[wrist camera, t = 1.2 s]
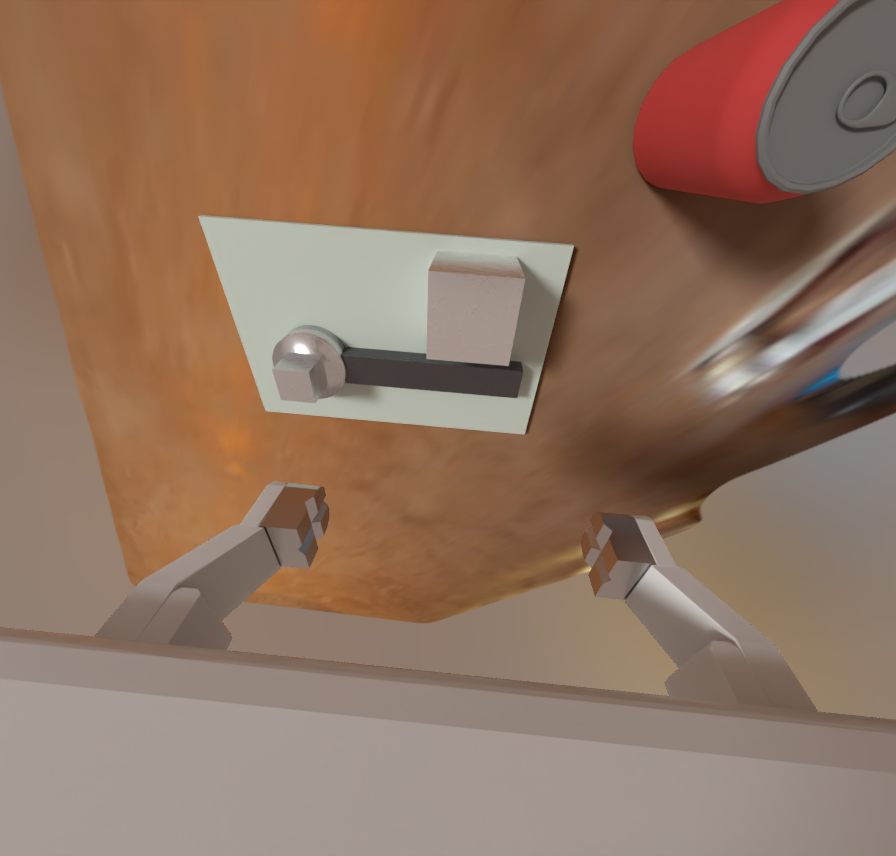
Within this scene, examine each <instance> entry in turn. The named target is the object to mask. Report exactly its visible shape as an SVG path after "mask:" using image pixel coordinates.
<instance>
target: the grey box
mask: <svg viewBox="0 0 896 856" xmlns="http://www.w3.org/2000/svg"><path fill="white" fill-rule="evenodd" d="M524 283H525V276H524V274H523V271H522V269H521V266H520V263H519V261H518V258H517V257H516V256H504V255H491V254H479V253H466V252H454V251H441V250H437V252H436V255H435V257H434V259H433V261H432V263H431V266H430V268H429V270H428V302H427V353H426V359H433V360H445V361H456V362H468V363H479V364H491V365H503V366H509V362H510V357H511V351H512V346H513V341H514V336H515V331H516V325H517V320H518V315H519V310H520V304H521V299H522V294H523V289H524Z"/></svg>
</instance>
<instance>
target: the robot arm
mask: <svg viewBox="0 0 896 856" xmlns="http://www.w3.org/2000/svg"><path fill="white" fill-rule="evenodd" d="M325 496H326V494H325V490H324V487H319V486H311V485H303V484H294V483H284V482H275V481H272V482H271V483H269V484H268V485H267V486H266V488H265V489H264V490H263V492H262V493H261V495H260V496H259V498H258V499H257V501H256V502H255V503H254V505H253V506H252V508H251V509H250V511H249V512H248V513H247V515H246V516H245V518H244V519H243V521H242V522H241V524H240V525H233V526H231V527H230V528H228V529H226V530H225V531H223V532H221V533H220V534H218V535H216V536H215V537H213V538H211V539H210V540H208V541H206V542H205V543H203V544H201V545H200V546H198V547H197V548H195V549H193V550H192V551H190V552H188V553H187V554H185V555H183V556H182V557H180V558H178V559H177V560H175V561H173V562H172V563H170V564H168V565H167V566H165V567H163V568H162V569H160V570H158V571H157V572H155V573H153V574H152V575H150V576H148V577H147V578H145V579H143V580H142V581H140V582H139V584H138V585H137V586H136V587H135V588H134V590H133V591H132V592H131V594H129V596H128V597H127V598H126V599H125V600H124V602H123V603H122V604H121V605H120V606H119V607H118V609H117V610H116V611H115V612H114V614H113V615H112V616H111V617H110V618H109V619H108V621H107V622H106V623H105V624H104V625H103V626H102V628H101V629H100V630H99V631H98V632H97V633H96V635H95V636H94V637H92V636H83V635H73V634H64V633H54V632H43V631H34V630H24V629H15V628H4V627H0V856H896V720H894V719H885V718H875V717H865V716H856V715H846V714H837V713H826V712H818V711H817V709H816V707H815V706H814V704H813V703H812V701H811V700H810V698H809V697H808V695H807V693H806V692H805V691H804V689H803V687H802V686H801V684H800V683H799V681H798V679H797V678H796V676H795V675H794V673H793V672H792V670H791V669H790V667H789V665H788V664H787V662H786V661H785V659H784V658H783V656H782V655H781V653H780V652H779V650H778V648H777V647H776V645H775V644H773V643H772V642H771V641H770V640H768V639H767V638H766V637H765V636H764V635H763V634H761V633H760V632H759V631H758V630H757V629H755V628H754V627H753V626H752V625H751V624H749V623H748V622H747V621H746V620H745V619H743V618H742V617H741V616H740V615H738V614H737V613H736V612H735V611H734V610H732V609H731V608H730V607H729V606H728V605H727V604H725V603H724V602H723V601H722V600H721V599H719V598H718V597H717V596H716V595H714V594H713V593H712V592H711V591H710V590H708V589H707V588H706V587H705V586H704V585H702V584H701V583H700V582H699V581H698V580H696V579H695V578H694V577H693V576H692V575H691V574H689V573H688V572H687V571H686V570H685V569H683V568H680V567H677V566H676V564H675V562H674V560H673V558H672V556H671V555H670V553H669V551H668V549H667V547H666V545H665V543H664V541H663V539H662V538H661V536H660V534H659V532H658V530H657V528H656V526H655V524H654V522H653V521H652V519H651V518H649V517H648V516H637V515H628V514H616V513H603V512H595V513H594V514H593V515H592V517H591V519H590V521H591V524H592V526H590V527H589V528H587V529H585V532H584V534H583V536H582V553H583V557H584V560H585V561H586V562H587V564H588V565H589V566H590V567H591V568H592V569H591V571H590V573H589V578H590V581H591V585H592V588H593V591H594V595H595V596H596V597H603V598H611V599H619V600H625V603H626V604H627V605H628V607H629V608H630V609H631V610H632V612H633V613H634V614H635V615H636V616H637V618H638V619H639V620H640V621H641V623H642V624H643V625H644V626H645V627H646V629H647V630H648V631H649V632H650V633H651V635H652V636H653V637H654V638H655V640H656V641H657V642H658V643H659V644H660V646H661V647H662V648H663V649H664V651H665V652H666V653H667V654H668V656H669V657H670V658H671V659H672V660H673V662H674V663H675V664H676V665H677V667H678V668H679V669H678V670H676V671H675V672H674V673H673V674H672V675H670V676H669V677H668V678H667V679H666V681H665V686H666V689H667V691H668V694H669V696H663V695H653V694H644V693H634V692H625V691H615V690H605V689H596V688H585V687H576V686H566V685H557V684H546V683H537V682H528V681H518V680H509V679H499V678H489V677H480V676H470V675H461V674H451V673H441V672H432V671H422V670H412V669H403V668H393V667H383V666H374V665H363V664H354V663H345V662H334V661H325V660H315V659H306V658H296V657H286V656H276V655H267V654H257V653H248V652H237V651H228V650H227V648H228V646H229V644H230V642H231V640H232V636H231V633H230V632H229V630H228V629H227V628H226V626H225V625H224V623H223V622H222V620H223V619H224V618H225V617H227V615H229V614H230V613H231V612H232V611H233V610H234V609H235V608H237V607H238V606H239V605H240V604H241V603H242V602H243V601H244V600H246V599H247V598H248V597H249V596H250V595H251V594H252V593H253V592H254V591H256V590H257V589H258V588H259V587H260V586H261V585H262V584H263V583H265V582H266V581H267V580H268V579H269V578H270V577H271V576H272V575H273V574H275V573H276V572H277V571H278V570H279V569H280V566H282V567H296V568H310V566H311V564H312V561H313V559H314V557H315V554H316V552H317V550H318V546H317V542H316V541H317V540H318V539H320V538H321V537H322V536H324V534H325V531H326V529H327V526H328V521H329V507H328V505H327V504H326V503H325V502H324V501H323V500H324V498H325Z"/></svg>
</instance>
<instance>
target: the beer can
mask: <svg viewBox="0 0 896 856" xmlns="http://www.w3.org/2000/svg"><path fill="white" fill-rule="evenodd" d="M895 149H896V0H783V1H781V2H779V3H777V4H775V5H773V6H771V7H769V8H768V9H766V10H764V11H762V12H760V13H758V14H756V15H754V16H752V17H750V18H748V19H746V20H744V21H742V22H741V23H739V24H737V25H735V26H733V27H731V28H729V29H727V30H725V31H723V32H721V33H719V34H717V35H715V36H714V37H712V38H710V39H708V40H706V41H704V42H702V43H700V44H698V45H696V46H694V47H693V48H692V49H690V50H689V51H687V52H686V53H684V54H683V55H681V56H680V57H678V58H677V59H675V60H674V61H673V62H672V63H671V64H670V65H669V66H668V68H667V69H666V70H665V71H664V72H663V73H662V74H661V75H660V76H659V77H658V78H657V80H656V81H655V83H654V84H653V86H652V88H651V89H650V91H649V93H648V95H647V96H646V98H645V100H644V101H643V103H642V106H641V109H640V112H639V115H638V118H637V121H636V124H635V128H634V139H633V152H634V157H635V163H636V167H637V168H638V170H639V171H640V173H641V174H642V176H643V178H644V179H645V180H646V181H648V182H649V183H651V184H653V185H654V186H656V187H658V188H664V189H670V190H676V191H682V192H688V193H695V194H701V195H707V196H713V197H719V198H725V199H731V200H737V201H744V202H751V203H759V204H765V203H770V202H775V201H780V200H785V199H790V198H794V197H799V196H803V195H805V194H810V193H814V192H819V191H824V190H829V189H833V188H835V187H837V186H839V185H841V184H843V183H845V182H847V181H849V180H852V179H854V178H856V177H858V176H860V175H862V174H863V173H865V172H866V171H868V170H869V169H870V168H872V167H873V166H874V165H876V164H877V163H879V162H880V161H881V160H883V159H884V158H885V157H887V156H888V155H890V154H891V153H892V152H893V151H894V150H895Z"/></svg>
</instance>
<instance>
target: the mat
mask: <svg viewBox="0 0 896 856" xmlns="http://www.w3.org/2000/svg"><path fill="white" fill-rule="evenodd" d="M198 217H199V220H200V223H201V226H202V228H203V231H204V234H205V237H206V240H207V243H208V246H209V249H210V251H211V254H212V257H213V260H214V263H215V266H216V269H217V272H218V275H219V277H220V280H221V283H222V286H223V289H224V292H225V295H226V298H227V301H228V303H229V306H230V309H231V312H232V315H233V318H234V321H235V324H236V327H237V329H238V332H239V335H240V338H241V341H242V344H243V347H244V350H245V353H246V355H247V358H248V361H249V364H250V367H251V370H252V373H253V376H254V379H255V381H256V384H257V387H258V390H259V393H260V396H261V399H262V402H263V405H264V407H265V410H266V411H271V412H282V413H294V414H305V415H316V416H327V417H338V418H349V419H360V420H371V421H382V422H393V423H404V424H415V425H426V426H437V427H448V428H459V429H470V430H482V431H493V432H504V433H515V434H525V432H526V428H527V424H528V420H529V416H530V413H531V409H532V405H533V401H534V397H535V393H536V390H537V386H538V382H539V378H540V374H541V371H542V367H543V363H544V359H545V355H546V351H547V348H548V344H549V340H550V336H551V332H552V328H553V325H554V321H555V317H556V313H557V309H558V306H559V302H560V298H561V294H562V290H563V286H564V283H565V279H566V275H567V271H568V267H569V264H570V260H571V256H572V252H573V248H574V245H573V244H562V243H549V242H537V241H524V240H511V239H499V238H486V237H474V236H461V235H448V234H436V233H423V232H410V231H398V230H385V229H373V228H360V227H347V226H335V225H322V224H309V223H297V222H284V221H272V220H259V219H246V218H234V217H221V216H208V215H201V216H198ZM437 250H441V251H454V252H466V253H479V254H491V255H504V256H516V257H517V258H518V261H519V263H520V266H521V269H522V271H523V274H524V276H525V283H524V289H523V294H522V299H521V304H520V310H519V315H518V320H517V325H516V331H515V336H514V341H513V346H512V351H511V357H510V361H518V362H521V363H522V368H523V375H522V380H521V384H520V388H519V393H518V397H517V398H508V397H496V396H485V395H474V394H462V393H451V392H440V391H428V390H417V389H406V388H394V387H383V386H372V385H361V384H349V383H344V384H343V386H342V387H341V389H340V390H339V391H338V392H337V393H336V394H335V395H333V396H331V397H328V398H324V399H318V401H317V402H316V403H307V402H296V401H285V400H281V398H280V395H279V391H278V388H277V385H276V382H275V378H274V375H273V372H272V368H273V367H274V366H273V361H272V355H273V350H274V348H275V346H276V345H277V343H278V342H279V341H280V340H281V339H282V338H284V337H285V336H286V335H287V334H288V333H289V332H290V331H291V330H293V329H294V328H296V327H299V326H302V325H314V326H319V327H322V328H324V329H326V330H328V331H330V332H332V333H333V334H335V335H336V336H337V337H338V338H339V339H340V340H341V341H342V342H343V343H344V345H345V346H346V348H347V347H356V348H367V349H379V350H390V351H402V352H414V353H425V354H426V353H427V302H428V270H429V268H430V266H431V263H432V261H433V259H434V257H435V255H436V252H437Z"/></svg>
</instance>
